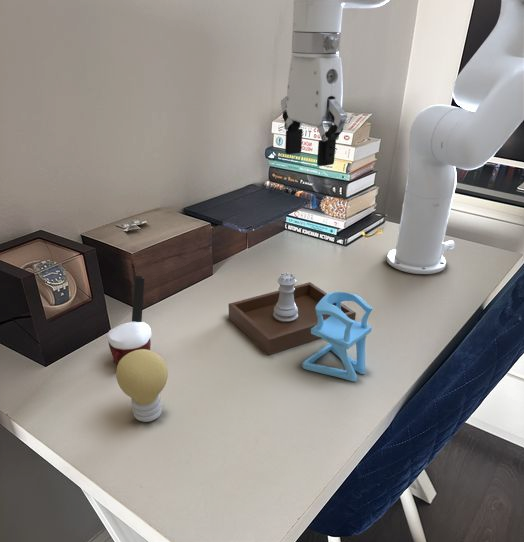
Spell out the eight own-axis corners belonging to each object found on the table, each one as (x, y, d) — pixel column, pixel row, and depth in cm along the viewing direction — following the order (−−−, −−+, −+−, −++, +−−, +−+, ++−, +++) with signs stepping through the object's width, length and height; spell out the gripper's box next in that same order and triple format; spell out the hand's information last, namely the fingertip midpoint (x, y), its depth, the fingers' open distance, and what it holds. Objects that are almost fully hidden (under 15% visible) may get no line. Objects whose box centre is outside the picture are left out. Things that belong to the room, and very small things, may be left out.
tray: (309, 295, 99) (310, 281, 97) (354, 327, 89) (356, 312, 87) (228, 318, 91) (228, 303, 89) (268, 355, 81) (268, 339, 80)
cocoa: (122, 379, 75) (110, 308, 69) (97, 363, 79) (83, 294, 72) (170, 352, 81) (164, 285, 75) (145, 339, 85) (136, 273, 78)
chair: (346, 389, 74) (356, 318, 67) (300, 367, 79) (305, 298, 72) (373, 366, 79) (385, 298, 72) (329, 347, 83) (336, 280, 77)
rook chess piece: (300, 312, 91) (303, 272, 87) (295, 325, 88) (297, 283, 83) (276, 309, 92) (277, 268, 88) (270, 321, 89) (271, 279, 84)
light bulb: (114, 414, 69) (103, 353, 63) (154, 394, 73) (146, 334, 67) (141, 438, 65) (131, 375, 60) (181, 415, 69) (175, 354, 63)
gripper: (370, 48, 76) (357, 167, 85) (303, 42, 88) (298, 147, 97) (330, 49, 72) (320, 172, 82) (266, 43, 85) (265, 151, 94)
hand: (308, 158), depth 90 cm, fingers open, 9 cm apart
